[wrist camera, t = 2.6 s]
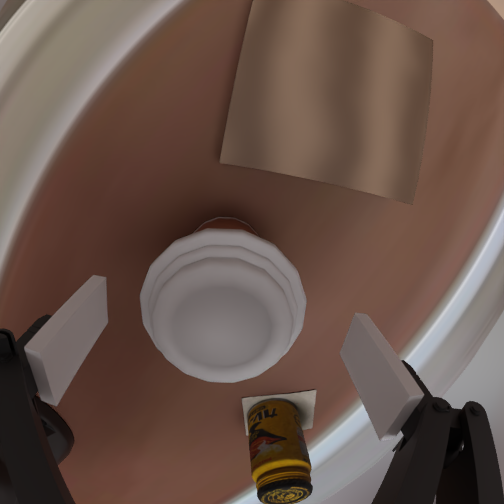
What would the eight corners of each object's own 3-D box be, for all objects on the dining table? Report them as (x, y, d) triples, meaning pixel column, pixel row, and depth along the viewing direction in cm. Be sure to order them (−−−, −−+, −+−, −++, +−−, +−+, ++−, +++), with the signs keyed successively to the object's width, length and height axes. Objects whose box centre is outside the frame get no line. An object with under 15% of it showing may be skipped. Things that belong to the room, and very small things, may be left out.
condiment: (241, 397, 31) (247, 487, 19) (316, 388, 31) (344, 472, 20) (246, 434, 33) (252, 513, 22) (311, 426, 33) (333, 501, 22)
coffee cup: (291, 215, 25) (341, 265, 13) (262, 310, 27) (282, 406, 16) (183, 188, 24) (140, 219, 12) (164, 289, 26) (126, 378, 15)
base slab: (221, 161, 23) (219, 162, 19) (254, 1, 19) (258, -21, 15) (389, 197, 25) (412, 204, 21) (409, 50, 20) (432, 40, 17)
